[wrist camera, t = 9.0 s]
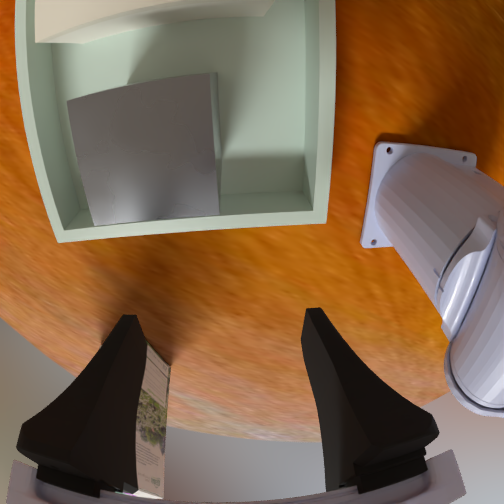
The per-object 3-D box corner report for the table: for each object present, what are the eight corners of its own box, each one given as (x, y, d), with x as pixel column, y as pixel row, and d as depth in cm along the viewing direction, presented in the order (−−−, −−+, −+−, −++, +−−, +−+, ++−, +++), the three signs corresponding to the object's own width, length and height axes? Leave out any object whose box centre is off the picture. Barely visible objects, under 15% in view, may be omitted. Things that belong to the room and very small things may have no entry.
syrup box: (98, 343, 27) (67, 477, 15) (145, 333, 26) (122, 487, 14) (129, 374, 30) (112, 495, 18) (174, 366, 29) (166, 501, 17)
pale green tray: (308, -89, 8) (323, -113, 5) (310, 196, 19) (325, 223, 16) (50, -49, 7) (23, -61, 4) (78, 215, 19) (57, 242, 16)
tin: (217, 72, 14) (209, 73, 8) (222, 157, 17) (219, 214, 11) (126, 84, 14) (66, 100, 8) (138, 166, 16) (94, 225, 11)
